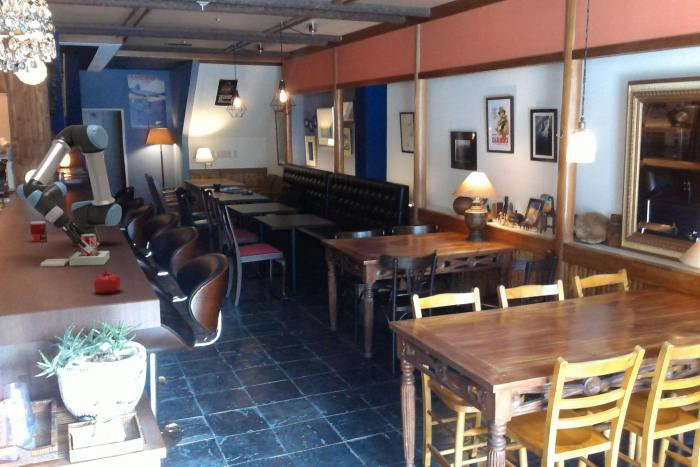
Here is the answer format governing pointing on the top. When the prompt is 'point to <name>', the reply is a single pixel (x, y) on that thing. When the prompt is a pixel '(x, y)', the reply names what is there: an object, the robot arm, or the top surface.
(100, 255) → the holder
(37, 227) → the canned food
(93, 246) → the soda can
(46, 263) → the tile
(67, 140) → the robot arm
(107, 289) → the pomegranate
